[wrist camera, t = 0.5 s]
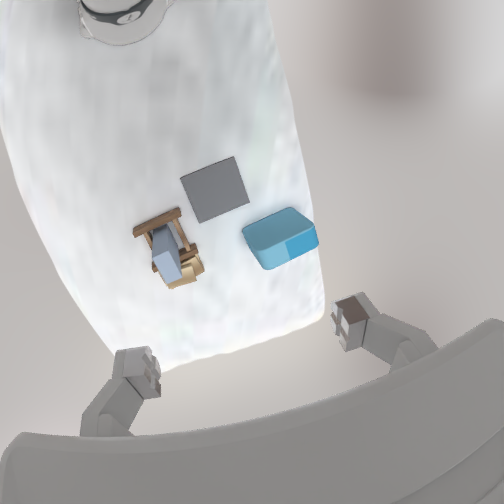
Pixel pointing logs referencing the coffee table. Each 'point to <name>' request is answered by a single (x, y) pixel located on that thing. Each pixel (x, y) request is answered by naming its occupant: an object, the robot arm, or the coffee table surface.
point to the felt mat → (215, 189)
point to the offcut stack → (187, 271)
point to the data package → (280, 238)
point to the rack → (161, 220)
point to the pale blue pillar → (166, 254)
